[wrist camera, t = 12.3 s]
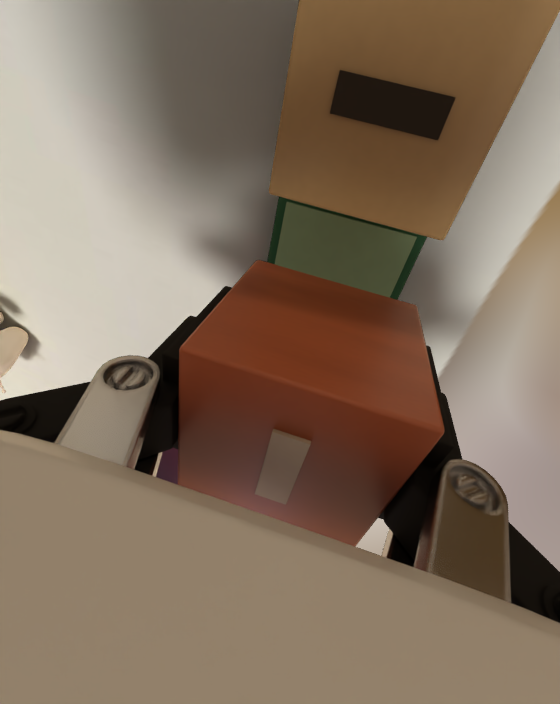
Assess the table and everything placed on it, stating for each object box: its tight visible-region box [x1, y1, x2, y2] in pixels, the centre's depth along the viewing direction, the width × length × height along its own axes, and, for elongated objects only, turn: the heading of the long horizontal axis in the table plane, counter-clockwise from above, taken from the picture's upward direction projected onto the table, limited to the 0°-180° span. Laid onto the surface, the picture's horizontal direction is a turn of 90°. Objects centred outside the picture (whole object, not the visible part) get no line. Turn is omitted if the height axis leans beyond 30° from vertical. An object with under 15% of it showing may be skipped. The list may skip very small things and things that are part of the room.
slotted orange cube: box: [178, 260, 444, 546], centre depth 9 cm, size 5×5×5 cm
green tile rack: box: [267, 0, 560, 300], centre depth 10 cm, size 20×6×6 cm, turn 169°
